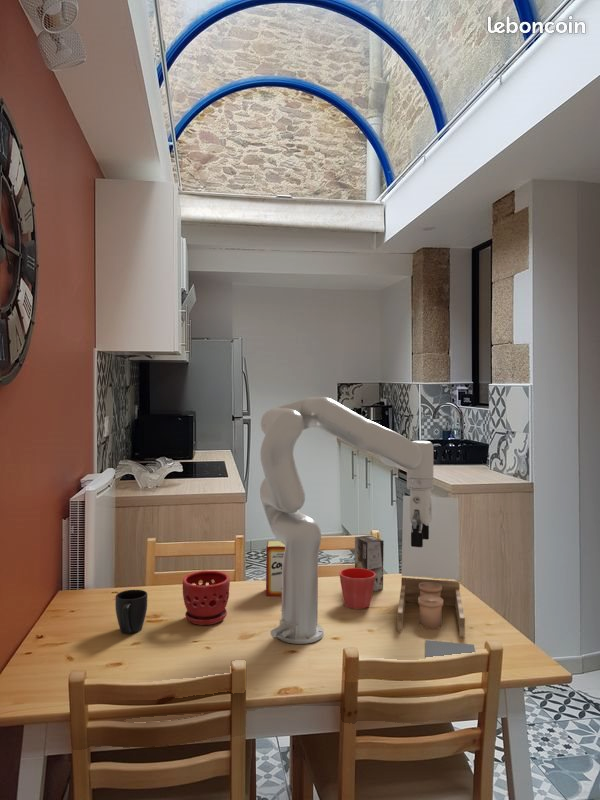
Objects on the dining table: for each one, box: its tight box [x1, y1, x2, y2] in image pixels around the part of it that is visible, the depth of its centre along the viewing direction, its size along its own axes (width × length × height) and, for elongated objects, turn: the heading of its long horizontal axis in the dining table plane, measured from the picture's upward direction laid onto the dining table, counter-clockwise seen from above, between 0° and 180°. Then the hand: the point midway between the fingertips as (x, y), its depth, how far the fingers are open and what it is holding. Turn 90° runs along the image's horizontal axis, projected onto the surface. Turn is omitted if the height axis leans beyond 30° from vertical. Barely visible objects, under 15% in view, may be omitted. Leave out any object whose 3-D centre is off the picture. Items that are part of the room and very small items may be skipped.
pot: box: [419, 582, 442, 597], centre depth 173 cm, size 7×7×7 cm
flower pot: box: [339, 567, 376, 610], centre depth 175 cm, size 11×11×10 cm
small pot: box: [417, 595, 444, 630], centre depth 160 cm, size 7×7×7 cm
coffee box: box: [354, 534, 385, 591], centre depth 193 cm, size 9×6×16 cm
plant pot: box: [182, 570, 231, 626], centre depth 162 cm, size 13×13×12 cm
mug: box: [114, 589, 148, 635], centre depth 153 cm, size 8×12×10 cm
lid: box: [401, 495, 460, 581], centre depth 183 cm, size 25×17×2 cm
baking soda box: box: [265, 540, 285, 597], centre depth 186 cm, size 10×6×16 cm
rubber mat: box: [424, 639, 476, 658], centre depth 142 cm, size 12×12×1 cm
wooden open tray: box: [397, 576, 466, 638], centre depth 166 cm, size 25×17×7 cm
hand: (420, 542), depth 167 cm, fingers open, 9 cm apart
